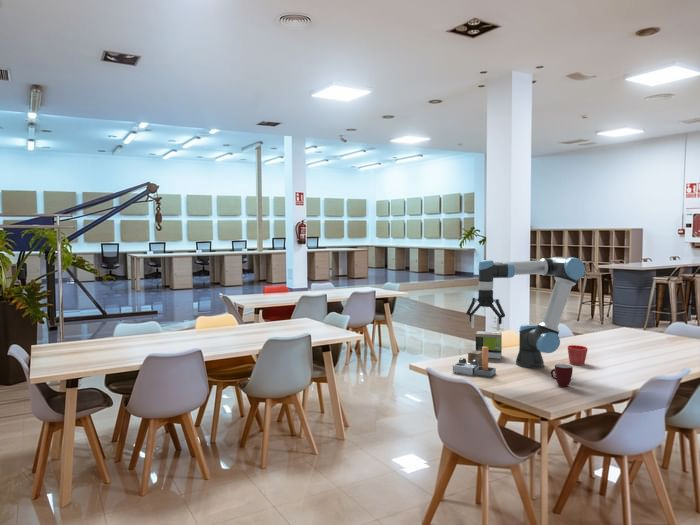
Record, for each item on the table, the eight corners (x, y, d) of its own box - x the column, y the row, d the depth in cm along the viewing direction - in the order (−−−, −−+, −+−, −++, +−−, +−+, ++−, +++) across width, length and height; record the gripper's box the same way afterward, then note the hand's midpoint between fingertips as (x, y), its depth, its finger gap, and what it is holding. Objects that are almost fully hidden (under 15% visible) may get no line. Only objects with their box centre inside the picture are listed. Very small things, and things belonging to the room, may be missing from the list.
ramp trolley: (479, 370, 286) (480, 359, 285) (472, 375, 274) (472, 364, 274) (460, 367, 291) (460, 356, 291) (452, 372, 280) (452, 361, 280)
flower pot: (587, 362, 303) (587, 345, 303) (587, 366, 293) (587, 349, 293) (567, 360, 308) (567, 344, 307) (566, 364, 298) (567, 348, 297)
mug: (546, 385, 257) (547, 365, 256) (553, 381, 263) (553, 362, 262) (568, 389, 250) (569, 368, 249) (574, 385, 256) (575, 365, 255)
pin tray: (495, 373, 278) (495, 368, 278) (491, 377, 270) (491, 371, 270) (479, 371, 283) (479, 365, 283) (474, 375, 275) (474, 369, 275)
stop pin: (488, 373, 277) (489, 347, 277) (487, 374, 274) (487, 348, 274) (482, 372, 279) (483, 346, 278) (481, 373, 276) (481, 347, 275)
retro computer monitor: (501, 355, 320) (502, 331, 319) (500, 359, 311) (501, 334, 310) (476, 353, 325) (477, 330, 324) (475, 357, 315) (475, 333, 315)
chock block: (482, 363, 301) (482, 351, 301) (478, 366, 295) (478, 353, 294) (472, 361, 305) (472, 350, 304) (467, 364, 298) (468, 352, 297)
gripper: (511, 289, 272) (510, 330, 273) (465, 287, 285) (464, 325, 286) (508, 291, 266) (507, 332, 267) (460, 288, 278) (460, 328, 279)
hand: (485, 329), depth 276 cm, fingers open, 13 cm apart
